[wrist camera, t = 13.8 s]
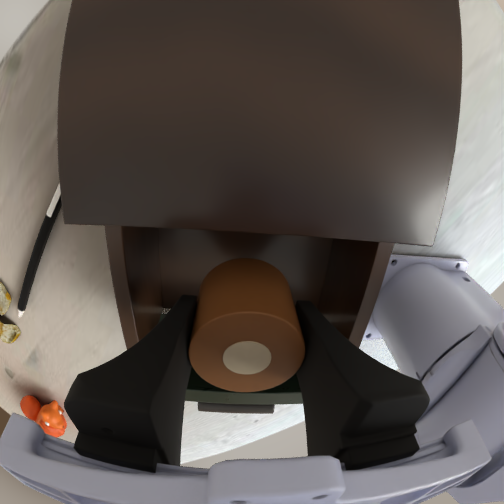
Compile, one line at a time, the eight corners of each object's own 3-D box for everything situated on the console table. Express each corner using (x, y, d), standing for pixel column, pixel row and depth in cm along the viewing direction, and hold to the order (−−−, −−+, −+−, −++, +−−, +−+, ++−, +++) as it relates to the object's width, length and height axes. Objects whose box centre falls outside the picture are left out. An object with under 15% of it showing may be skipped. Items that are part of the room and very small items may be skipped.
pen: (95, 144, 16) (87, 146, 15) (24, 317, 22) (19, 324, 21) (86, 137, 16) (78, 139, 15) (18, 312, 22) (12, 319, 20)
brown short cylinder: (296, 259, 13) (317, 314, 10) (283, 333, 15) (294, 393, 12) (198, 254, 13) (184, 309, 9) (199, 330, 15) (191, 390, 11)
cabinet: (360, 192, 18) (432, 247, 10) (134, 176, 17) (63, 224, 9) (378, 4, 12) (452, -40, 5) (151, -19, 11) (100, -83, 4)
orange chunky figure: (44, 454, 26) (58, 438, 23) (10, 416, 26) (16, 390, 23) (62, 436, 31) (81, 416, 28) (29, 400, 31) (41, 371, 27)
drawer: (313, 368, 24) (329, 433, 18) (157, 362, 23) (140, 427, 17) (361, 170, 17) (420, 202, 11) (138, 153, 16) (83, 177, 10)
